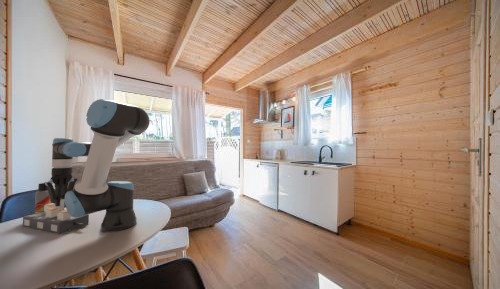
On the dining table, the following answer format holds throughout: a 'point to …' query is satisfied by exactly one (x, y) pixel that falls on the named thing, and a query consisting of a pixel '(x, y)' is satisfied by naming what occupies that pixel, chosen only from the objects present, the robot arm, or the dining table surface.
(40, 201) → the lotion bottle
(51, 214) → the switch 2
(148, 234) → the dining table surface
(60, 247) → the dining table surface
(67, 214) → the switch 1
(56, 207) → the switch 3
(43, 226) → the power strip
